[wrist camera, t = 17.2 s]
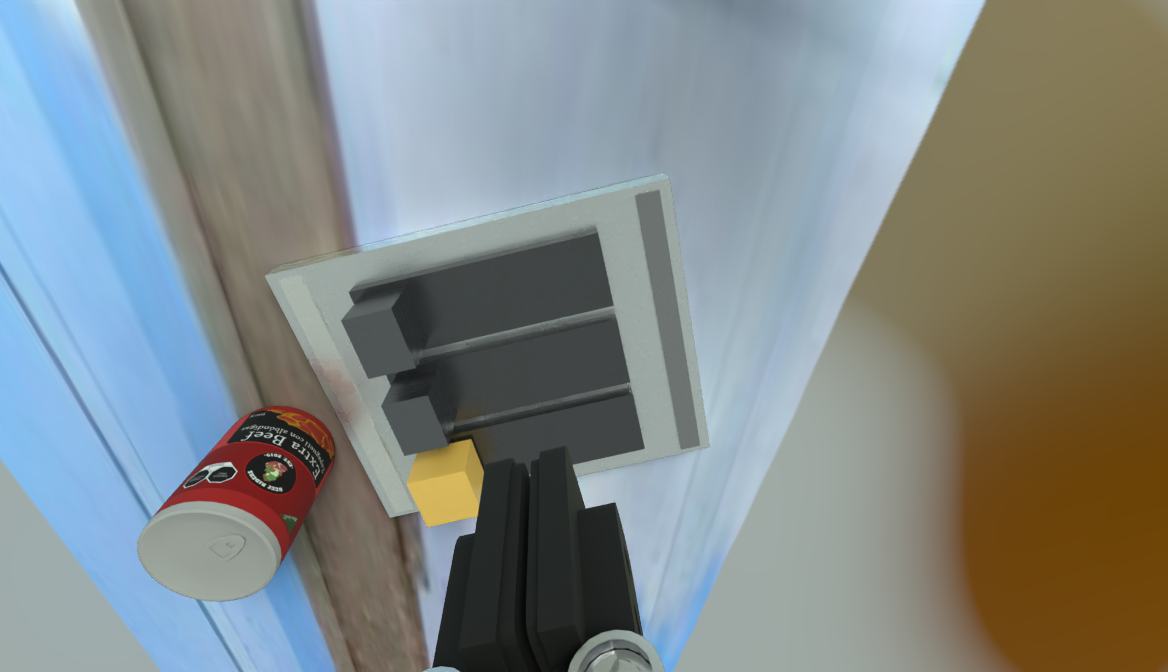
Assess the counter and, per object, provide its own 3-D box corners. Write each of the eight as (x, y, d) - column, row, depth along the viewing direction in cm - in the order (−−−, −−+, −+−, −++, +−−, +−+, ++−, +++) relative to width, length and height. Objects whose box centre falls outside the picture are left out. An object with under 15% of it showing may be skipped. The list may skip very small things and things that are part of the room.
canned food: (358, 439, 42) (302, 550, 33) (302, 499, 45) (233, 621, 35) (267, 383, 40) (176, 486, 30) (212, 450, 42) (111, 566, 32)
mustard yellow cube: (471, 439, 39) (464, 471, 36) (487, 481, 41) (482, 515, 38) (417, 450, 39) (406, 484, 36) (436, 492, 41) (427, 527, 38)
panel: (663, 172, 35) (687, 193, 29) (703, 431, 44) (727, 486, 39) (278, 265, 36) (227, 303, 30) (395, 500, 45) (374, 563, 40)
